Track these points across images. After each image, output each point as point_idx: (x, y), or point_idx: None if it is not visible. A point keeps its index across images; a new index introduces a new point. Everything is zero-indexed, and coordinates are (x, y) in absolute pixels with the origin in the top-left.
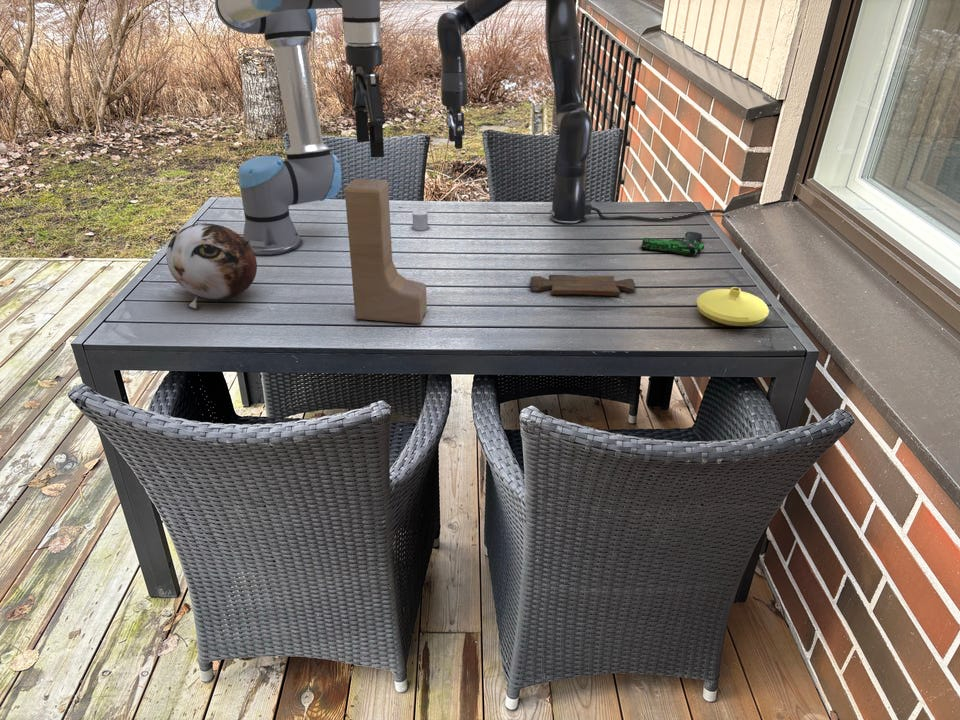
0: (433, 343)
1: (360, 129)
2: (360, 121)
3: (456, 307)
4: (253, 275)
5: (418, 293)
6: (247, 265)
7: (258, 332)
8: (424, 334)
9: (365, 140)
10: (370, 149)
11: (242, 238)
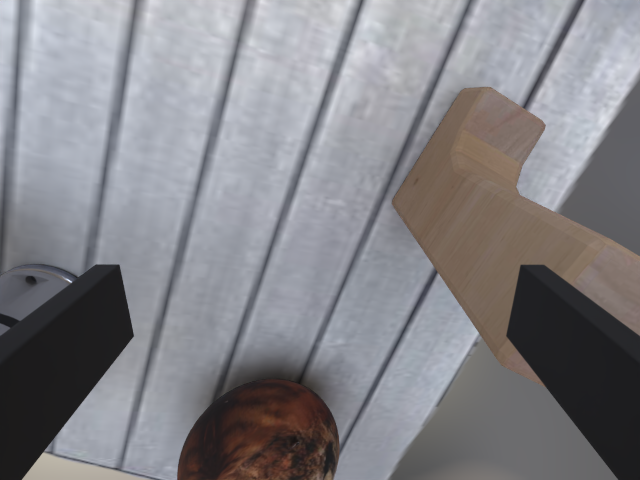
0: (590, 117)
1: (80, 370)
2: (35, 419)
3: (475, 13)
4: (309, 394)
5: (535, 122)
6: (322, 420)
7: (413, 366)
8: (550, 123)
9: (119, 293)
10: (535, 366)
11: (263, 449)
